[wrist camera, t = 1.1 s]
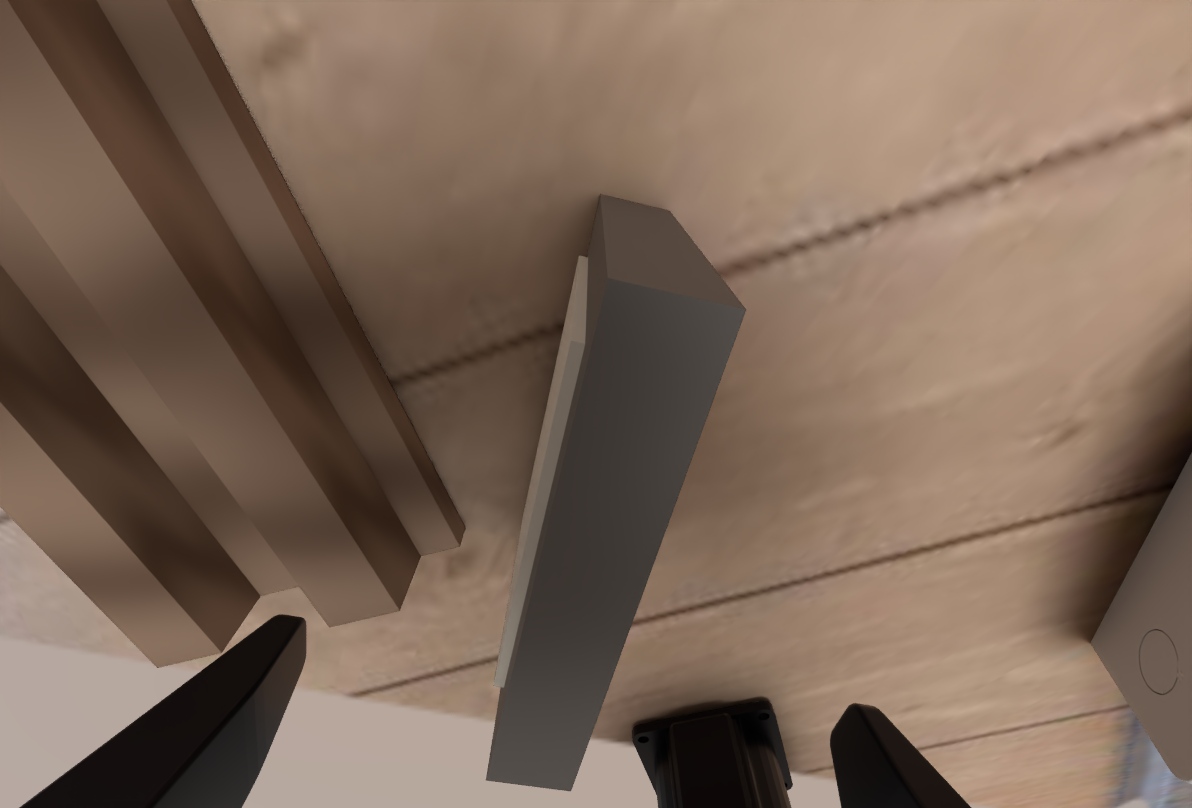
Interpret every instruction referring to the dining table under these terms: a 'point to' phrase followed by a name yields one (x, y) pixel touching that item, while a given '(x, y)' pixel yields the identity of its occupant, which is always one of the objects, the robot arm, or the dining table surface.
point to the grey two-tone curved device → (1157, 631)
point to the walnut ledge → (183, 347)
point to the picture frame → (605, 479)
